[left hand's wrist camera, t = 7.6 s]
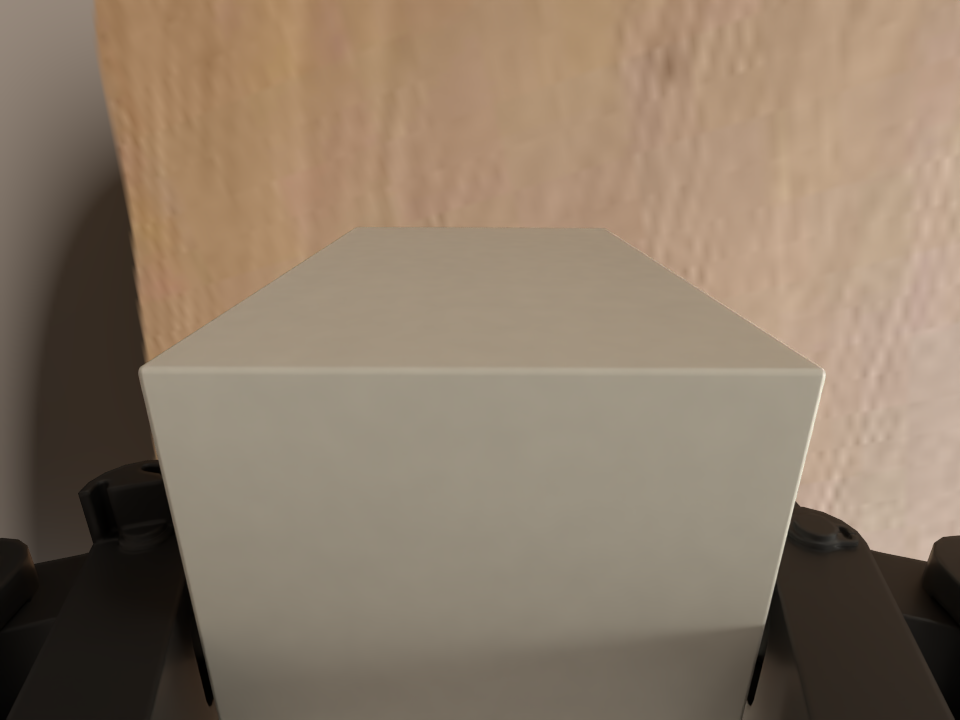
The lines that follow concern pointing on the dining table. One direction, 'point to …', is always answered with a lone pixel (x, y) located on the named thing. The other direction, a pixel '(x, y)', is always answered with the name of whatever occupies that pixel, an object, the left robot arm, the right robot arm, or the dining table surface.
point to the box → (481, 482)
